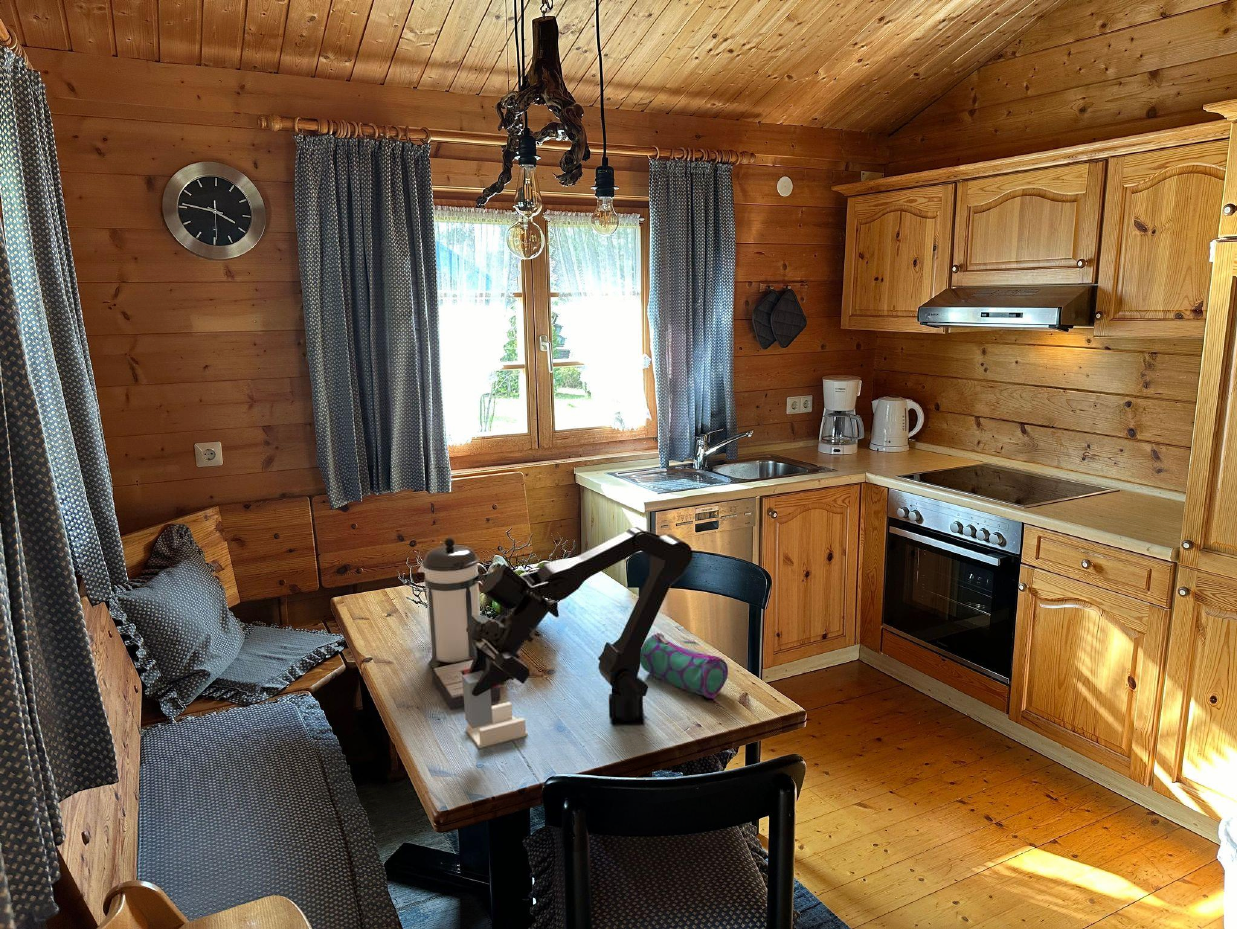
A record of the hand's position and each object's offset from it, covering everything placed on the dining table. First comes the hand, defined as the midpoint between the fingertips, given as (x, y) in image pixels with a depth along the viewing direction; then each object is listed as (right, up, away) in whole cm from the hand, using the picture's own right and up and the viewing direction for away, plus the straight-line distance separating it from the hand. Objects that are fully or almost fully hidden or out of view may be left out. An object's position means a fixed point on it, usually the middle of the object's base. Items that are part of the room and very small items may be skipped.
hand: (469, 690), depth 163 cm
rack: (+3, -11, +11) cm, 16 cm away
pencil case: (+42, -7, +30) cm, 52 cm away
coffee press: (-10, -4, +46) cm, 47 cm away
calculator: (-6, -8, +30) cm, 31 cm away
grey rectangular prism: (+1, -6, +2) cm, 7 cm away
